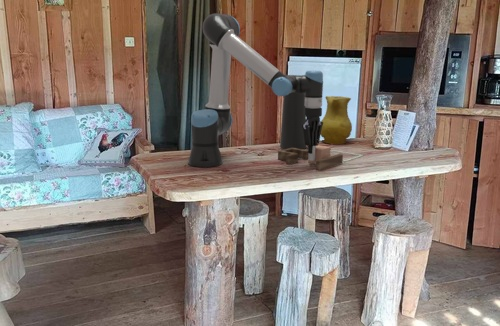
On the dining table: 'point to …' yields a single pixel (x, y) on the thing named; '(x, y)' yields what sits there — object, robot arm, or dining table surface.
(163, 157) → the dining table surface
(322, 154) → the block
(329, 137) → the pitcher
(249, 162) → the dining table surface
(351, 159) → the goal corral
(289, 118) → the tapered dark column
